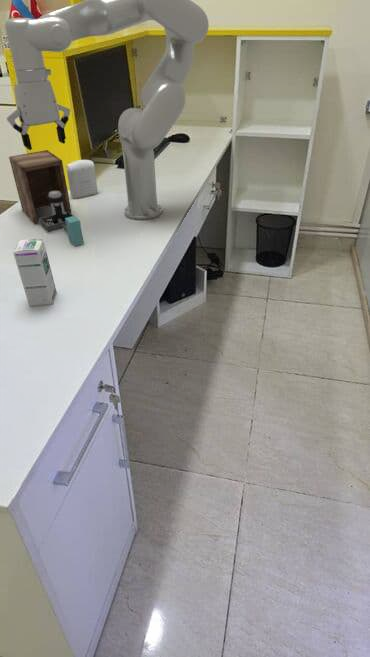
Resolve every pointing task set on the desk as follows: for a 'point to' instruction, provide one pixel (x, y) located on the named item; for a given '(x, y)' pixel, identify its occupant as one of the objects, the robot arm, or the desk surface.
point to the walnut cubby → (38, 180)
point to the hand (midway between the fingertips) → (45, 145)
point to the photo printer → (81, 178)
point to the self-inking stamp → (57, 207)
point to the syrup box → (35, 271)
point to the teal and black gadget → (66, 227)
